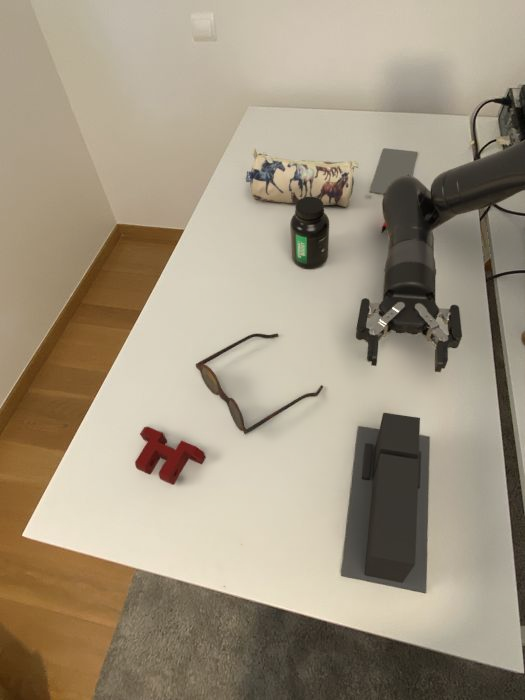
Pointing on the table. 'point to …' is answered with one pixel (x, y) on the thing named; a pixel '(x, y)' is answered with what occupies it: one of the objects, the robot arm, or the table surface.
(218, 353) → the eyeglasses
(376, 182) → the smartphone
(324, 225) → the supplement bottle
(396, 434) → the black rectangular box
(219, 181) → the table surface
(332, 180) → the pencil case
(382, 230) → the pen
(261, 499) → the table surface
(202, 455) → the bracket
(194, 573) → the table surface
